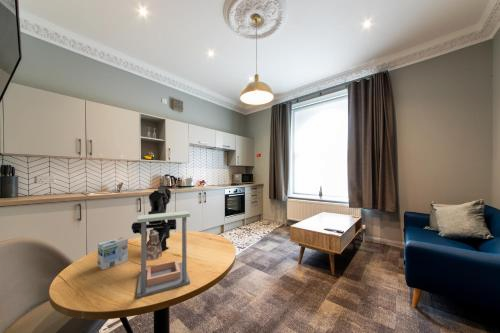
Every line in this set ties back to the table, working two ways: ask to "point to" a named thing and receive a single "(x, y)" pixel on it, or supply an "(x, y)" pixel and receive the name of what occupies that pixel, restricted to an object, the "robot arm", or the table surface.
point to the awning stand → (163, 273)
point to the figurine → (153, 246)
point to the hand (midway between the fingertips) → (153, 243)
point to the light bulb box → (112, 253)
